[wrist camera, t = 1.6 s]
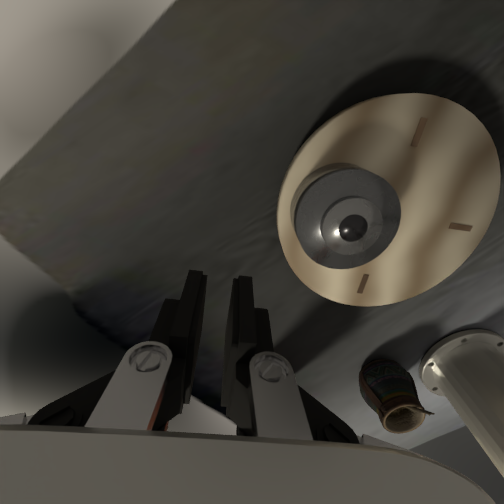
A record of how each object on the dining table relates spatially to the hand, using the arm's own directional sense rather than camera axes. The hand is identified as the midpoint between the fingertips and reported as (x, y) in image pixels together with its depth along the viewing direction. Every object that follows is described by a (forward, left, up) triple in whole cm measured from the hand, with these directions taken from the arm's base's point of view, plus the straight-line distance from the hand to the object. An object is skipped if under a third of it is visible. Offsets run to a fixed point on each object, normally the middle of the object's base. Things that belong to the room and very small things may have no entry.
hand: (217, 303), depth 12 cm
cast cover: (-10, 0, -18) cm, 20 cm away
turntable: (-16, 0, -20) cm, 25 cm away
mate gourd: (-25, +24, -21) cm, 41 cm away
